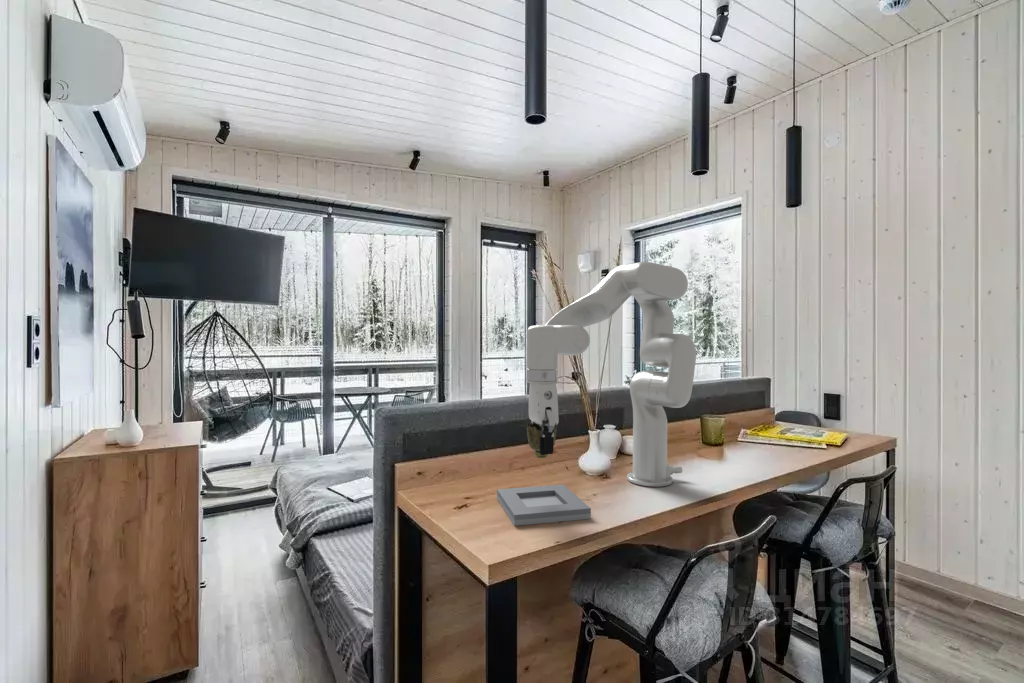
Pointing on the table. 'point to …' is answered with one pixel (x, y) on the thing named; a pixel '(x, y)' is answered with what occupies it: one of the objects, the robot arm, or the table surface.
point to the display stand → (542, 504)
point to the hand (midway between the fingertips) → (541, 449)
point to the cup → (537, 438)
